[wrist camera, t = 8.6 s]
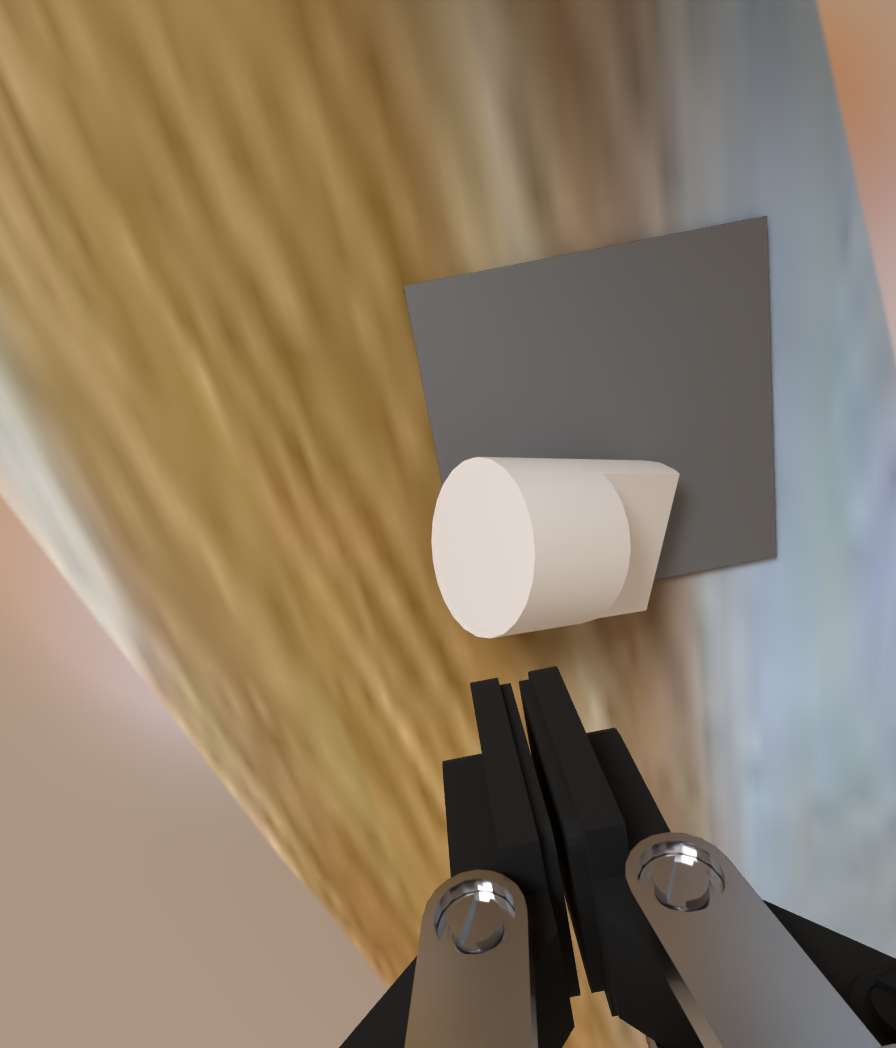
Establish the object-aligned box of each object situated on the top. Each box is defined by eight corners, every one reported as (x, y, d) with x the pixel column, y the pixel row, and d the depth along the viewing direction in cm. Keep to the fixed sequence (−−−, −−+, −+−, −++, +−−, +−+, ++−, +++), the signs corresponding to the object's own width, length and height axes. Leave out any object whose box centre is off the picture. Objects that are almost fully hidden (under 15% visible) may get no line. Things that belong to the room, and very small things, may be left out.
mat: (404, 286, 35) (403, 286, 34) (761, 217, 35) (767, 215, 34) (467, 612, 41) (467, 616, 40) (771, 553, 41) (776, 556, 40)
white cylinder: (423, 594, 36) (577, 576, 43) (516, 672, 29) (685, 637, 35) (443, 439, 34) (604, 445, 40) (550, 483, 26) (727, 482, 33)
